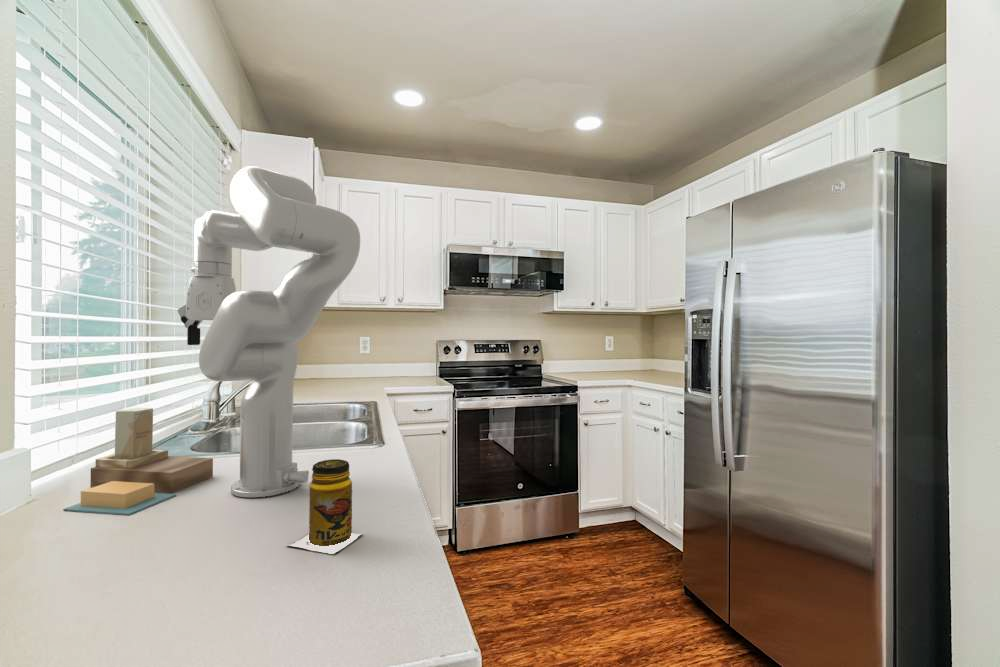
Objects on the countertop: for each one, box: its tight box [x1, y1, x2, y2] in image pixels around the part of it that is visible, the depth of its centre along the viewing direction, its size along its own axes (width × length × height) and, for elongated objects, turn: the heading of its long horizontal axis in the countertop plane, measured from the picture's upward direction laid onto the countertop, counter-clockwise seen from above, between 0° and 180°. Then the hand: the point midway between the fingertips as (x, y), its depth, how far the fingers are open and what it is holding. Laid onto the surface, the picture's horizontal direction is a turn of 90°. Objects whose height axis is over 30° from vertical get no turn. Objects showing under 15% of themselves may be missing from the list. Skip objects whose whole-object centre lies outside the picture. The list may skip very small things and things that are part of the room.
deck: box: [89, 449, 214, 494], centre depth 100 cm, size 18×11×6 cm, turn 82°
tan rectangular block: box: [80, 481, 155, 508], centre depth 88 cm, size 9×6×2 cm, turn 82°
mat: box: [62, 492, 177, 516], centre depth 88 cm, size 13×10×1 cm
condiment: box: [308, 458, 353, 546], centre depth 72 cm, size 7×8×12 cm
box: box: [114, 407, 154, 460], centre depth 100 cm, size 5×4×11 cm
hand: (212, 345), depth 111 cm, fingers open, 9 cm apart
